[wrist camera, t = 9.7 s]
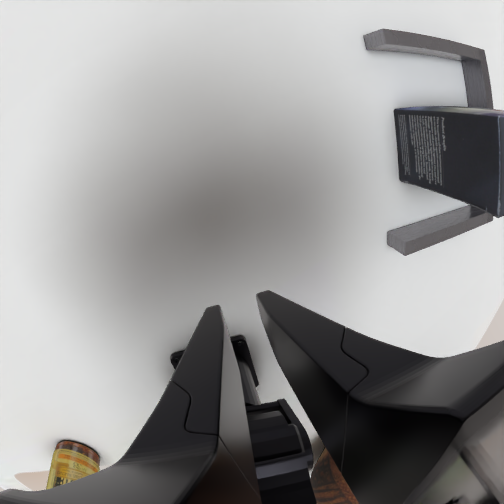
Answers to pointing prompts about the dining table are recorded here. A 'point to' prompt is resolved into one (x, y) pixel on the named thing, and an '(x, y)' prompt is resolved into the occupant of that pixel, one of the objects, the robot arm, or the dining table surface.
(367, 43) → the guide rails
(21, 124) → the dining table surface
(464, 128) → the small box
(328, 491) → the jug
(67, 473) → the sauce bottle
